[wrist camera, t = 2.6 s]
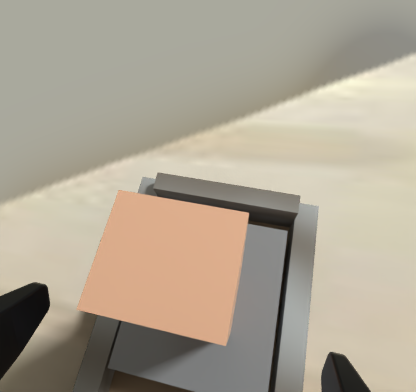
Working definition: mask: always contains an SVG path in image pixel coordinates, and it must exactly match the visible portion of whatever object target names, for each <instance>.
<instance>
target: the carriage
mask: <svg viewBox="0 0 416 392" xmlns="http://www.w3.org/2000/svg"><path fill="white" fill-rule="evenodd" d="M248 218H249V213H247V212H241V211H236V210H230V209H224V208H219V207H213V206H207V205H202V204H196V203H190V202H185V201H179V200H173V199H168V198H162V197H156V196H150V195H145V194H139V193H133V192H128V191H122V190H119V191H118V193H117V196H116V199H115V202H114V205H113V208H112V210H111V213H110V216H109V219H108V222H107V225H106V227H105V230H104V233H103V236H102V239H101V241H100V244H99V247H98V250H97V253H96V256H95V258H94V261H93V264H92V267H91V270H90V273H89V275H88V278H87V281H86V284H85V287H84V290H83V292H82V295H81V298H80V301H79V304H78V306H77V309H76V310H80V311H84V312H89V313H93V314H97V315H101V316H105V317H109V318H113V319H117V320H121V321H122V322H121V325H120V328H119V332H118V335H117V338H116V342H115V345H114V348H113V352H112V355H111V358H110V362H109V365H108V368H109V369H113V370H117V371H120V372H124V373H128V374H131V375H135V376H139V377H142V378H146V379H150V380H153V381H157V382H161V383H164V384H168V385H172V386H175V387H179V388H183V389H186V390H190V391H194V392H268V387H269V379H270V371H271V363H272V355H273V347H274V339H275V330H276V322H277V314H278V306H279V298H280V290H281V282H282V273H283V265H284V257H285V249H286V241H287V233H288V231H285V230H279V229H274V228H268V227H263V226H257V225H252V224H248Z"/></svg>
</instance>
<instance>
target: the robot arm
mask: <svg viewBox="0 0 416 392" xmlns="http://www.w3.org/2000/svg"><path fill="white" fill-rule="evenodd" d="M49 307H50V300H49V293H48V287H47V286H46V285H45V284H41V283H37V282H34V283H31V284H28V285H26V286H23V287H21V288H19V289H16V290H14V291H11V292H9V293H7V294H4V295H2V296H0V380H1V378H2V377H3V376H4V374H5V373H6V372H7V371H8V369H9V368H10V367H11V365H12V364H13V363H14V362H15V360H16V359H17V357H18V356H19V355H20V353H21V352H22V350H23V349H24V348H25V346H26V344H27V343H28V341H29V340H30V338H31V337H32V335H33V334H34V332H35V330H36V329H37V327H38V326H39V324H40V323H41V321H42V320H43V318H44V316H45V315H46V313H47V312H48V310H49ZM321 386H322V392H371V391H370V390H369V388H368V387H367V385H366V384H365V383H364V381H363V380H362V378H361V377H360V375H359V374H358V373H357V371H356V370H355V368H354V367H353V366H352V364H351V363H350V361H349V360H348V359H347V357H346V356H345V355H343V354H339V353H334V352H330V353H329V354H328V356H327V359H326V362H325V364H324V367H323V370H322V375H321Z"/></svg>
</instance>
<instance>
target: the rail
mask: <svg viewBox="0 0 416 392" xmlns="http://www.w3.org/2000/svg"><path fill="white" fill-rule="evenodd" d="M138 193H139V194H145V195H150V196H156V197H162V198H168V199H173V200H179V201H185V202H190V203H196V204H202V205H207V206H213V207H219V208H224V209H230V210H236V211H241V212H247V213H249V218H248V224H252V225H257V226H263V227H268V228H274V229H279V230H285V231H288V233H287V241H286V249H285V257H284V265H283V273H282V282H281V290H280V298H279V306H278V314H277V322H276V330H275V339H274V347H273V355H272V363H271V371H270V379H269V387H268V392H303V382H304V370H305V359H306V347H307V336H308V324H309V312H310V301H311V289H312V278H313V266H314V255H315V243H316V231H317V220H318V208H319V206H314V205H308V204H302V203H300V196H299V195H293V194H286V193H280V192H274V191H268V190H262V189H256V188H250V187H244V186H237V185H231V184H225V183H219V182H213V181H207V180H201V179H195V178H188V177H182V176H176V175H170V174H164V173H157V177H156V179H152V178H146V177H143V178H142V181H141V184H140V187H139V190H138ZM121 322H122V321H121V320H117V319H113V318H109V317H105V316H101V315H97V318H96V321H95V324H94V327H93V331H92V334H91V337H90V340H89V343H88V346H87V349H86V352H85V355H84V358H83V361H82V364H81V367H80V370H79V373H78V376H77V379H76V382H75V385H74V388H73V392H194V391H190V390H186V389H183V388H179V387H175V386H172V385H168V384H164V383H161V382H157V381H153V380H150V379H146V378H142V377H139V376H135V375H131V374H128V373H124V372H120V371H117V370H113V369H109V368H108V365H109V362H110V358H111V355H112V352H113V348H114V345H115V342H116V338H117V335H118V332H119V328H120V325H121Z"/></svg>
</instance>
